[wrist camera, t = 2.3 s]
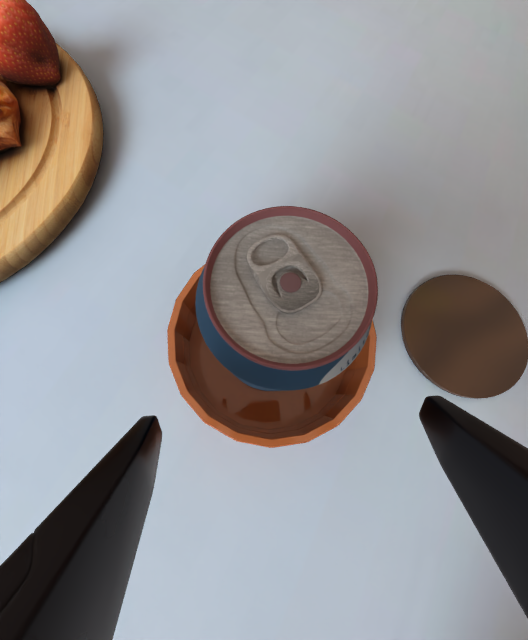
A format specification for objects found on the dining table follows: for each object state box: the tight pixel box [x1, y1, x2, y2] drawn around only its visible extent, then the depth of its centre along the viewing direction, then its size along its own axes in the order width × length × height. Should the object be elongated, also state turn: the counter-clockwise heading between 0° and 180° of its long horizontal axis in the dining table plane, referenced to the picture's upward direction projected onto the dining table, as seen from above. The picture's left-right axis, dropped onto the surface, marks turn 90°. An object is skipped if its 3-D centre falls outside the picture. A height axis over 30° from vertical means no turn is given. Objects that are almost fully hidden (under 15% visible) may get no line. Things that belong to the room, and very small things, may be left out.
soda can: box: [195, 206, 378, 391], centre depth 14 cm, size 7×7×12 cm
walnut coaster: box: [401, 275, 528, 398], centre depth 21 cm, size 10×10×1 cm
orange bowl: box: [167, 264, 377, 448], centre depth 18 cm, size 13×13×4 cm
